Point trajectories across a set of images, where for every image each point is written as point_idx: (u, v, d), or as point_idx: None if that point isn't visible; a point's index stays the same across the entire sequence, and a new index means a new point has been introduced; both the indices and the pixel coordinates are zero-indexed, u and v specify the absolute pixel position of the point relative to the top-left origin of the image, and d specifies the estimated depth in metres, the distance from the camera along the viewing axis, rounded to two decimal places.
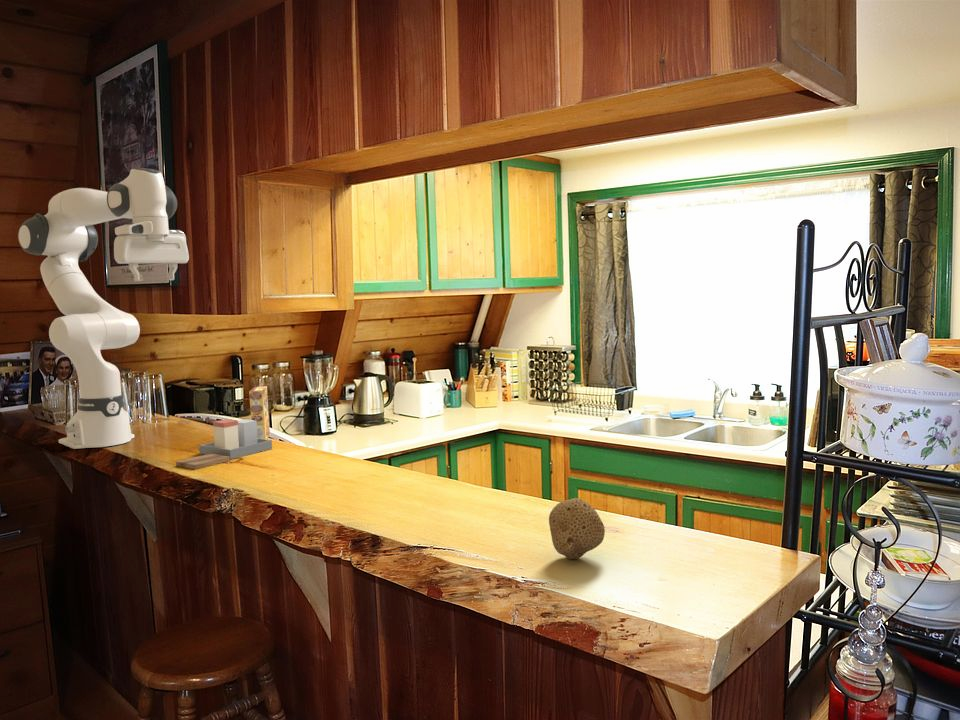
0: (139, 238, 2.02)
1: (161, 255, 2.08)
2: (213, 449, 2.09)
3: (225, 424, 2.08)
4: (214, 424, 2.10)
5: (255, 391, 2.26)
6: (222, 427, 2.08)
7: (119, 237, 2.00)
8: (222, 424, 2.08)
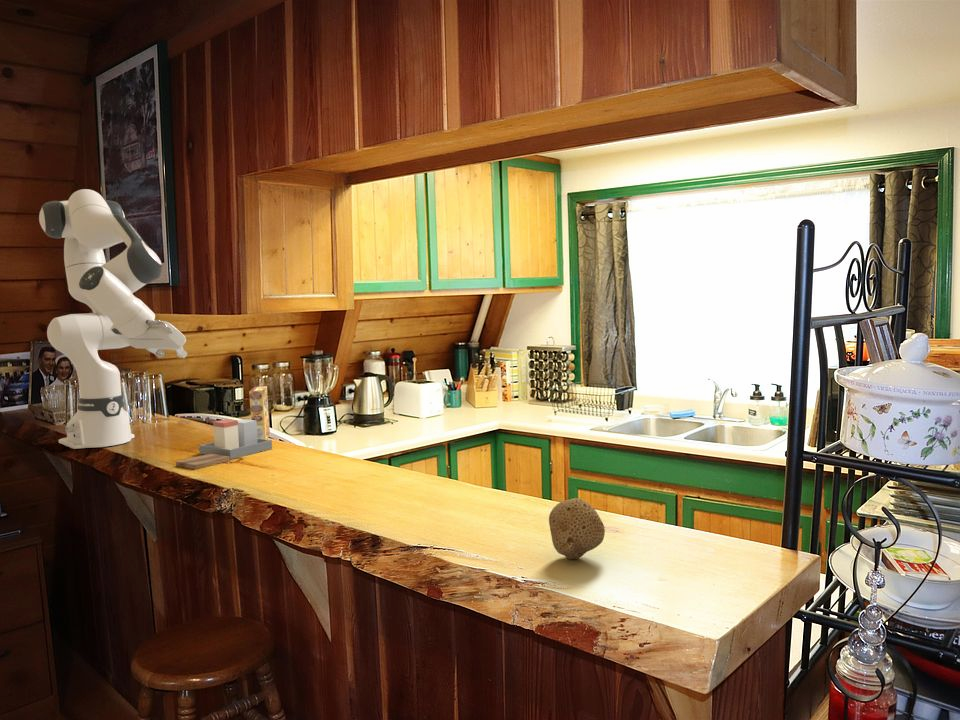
0: None
1: (154, 344, 1.98)
2: (213, 449, 2.09)
3: (225, 424, 2.08)
4: (214, 424, 2.10)
5: (255, 391, 2.26)
6: (222, 427, 2.08)
7: None
8: (222, 424, 2.08)
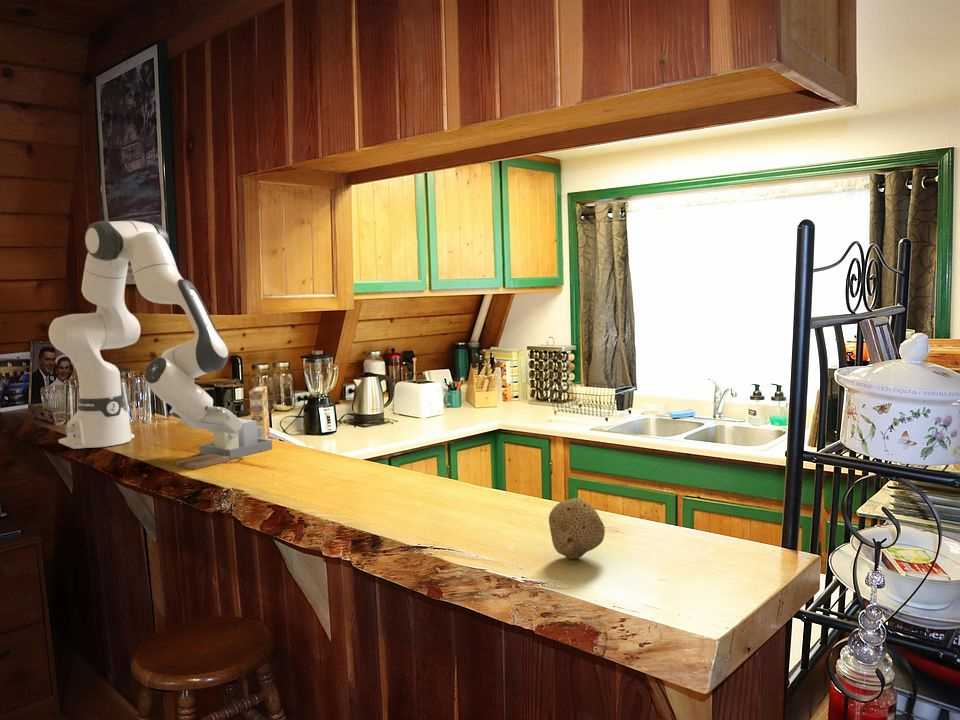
0: None
1: (212, 427, 2.06)
2: (213, 449, 2.09)
3: None
4: None
5: (255, 391, 2.26)
6: None
7: None
8: None
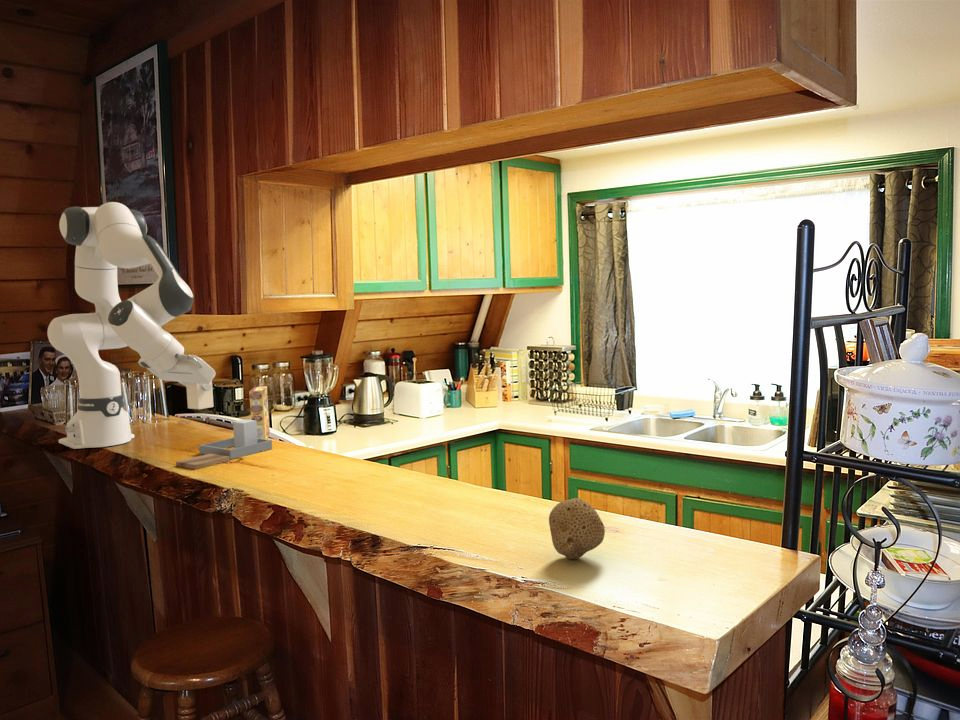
0: None
1: (183, 378, 1.94)
2: (213, 449, 2.09)
3: None
4: None
5: (255, 391, 2.26)
6: None
7: None
8: None
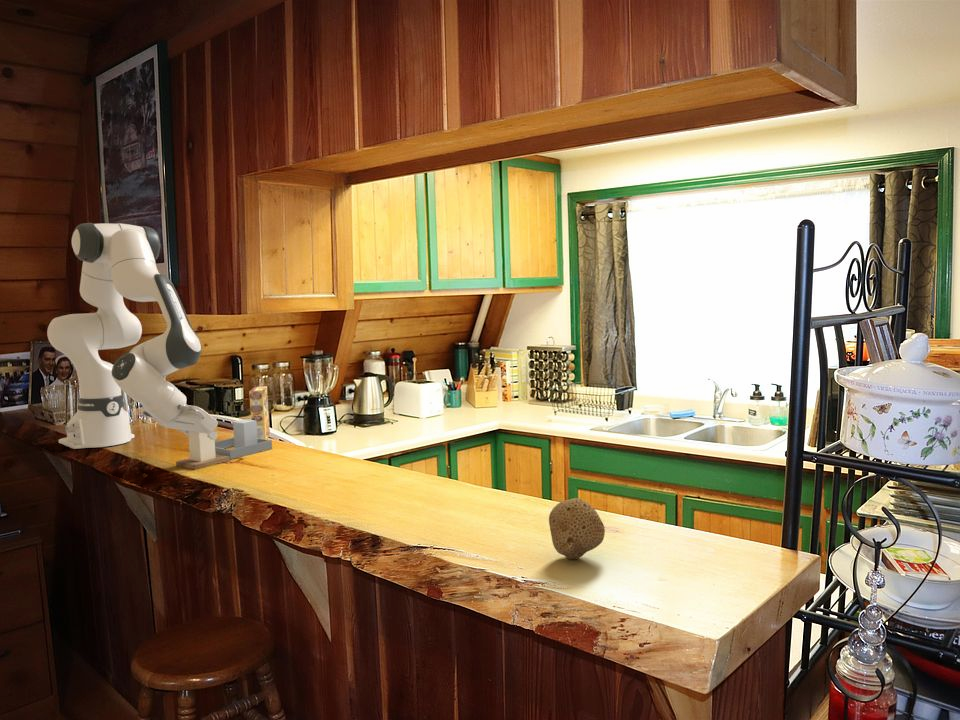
0: None
1: (185, 427, 1.95)
2: None
3: None
4: None
5: (255, 391, 2.26)
6: None
7: None
8: None
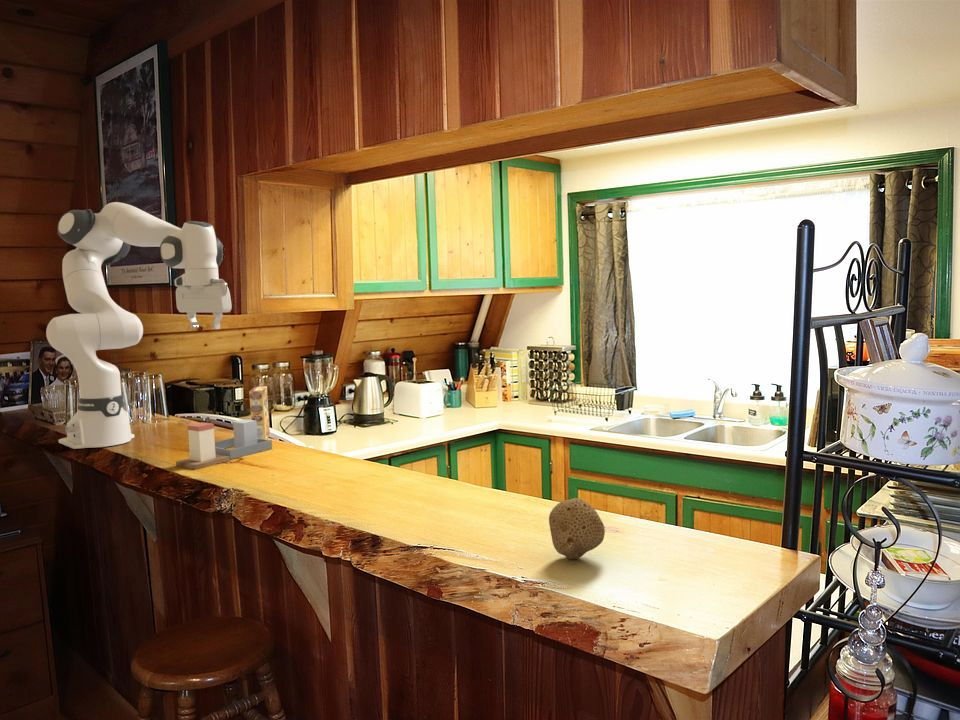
0: (183, 289, 2.17)
1: (201, 305, 2.15)
2: None
3: (200, 428, 1.97)
4: (189, 428, 1.99)
5: (255, 391, 2.26)
6: (197, 431, 1.97)
7: None
8: (197, 428, 1.97)
